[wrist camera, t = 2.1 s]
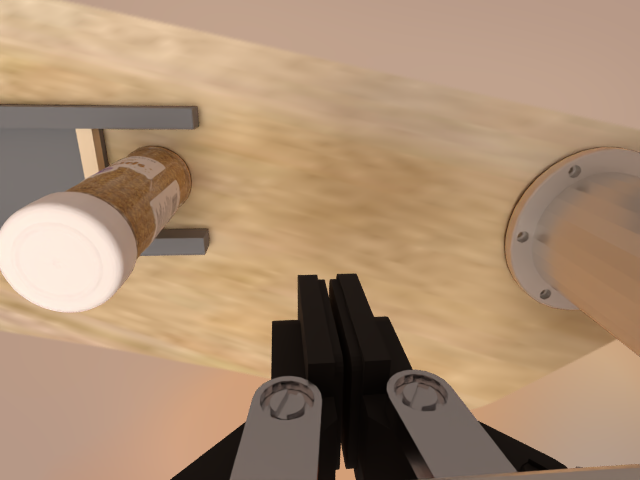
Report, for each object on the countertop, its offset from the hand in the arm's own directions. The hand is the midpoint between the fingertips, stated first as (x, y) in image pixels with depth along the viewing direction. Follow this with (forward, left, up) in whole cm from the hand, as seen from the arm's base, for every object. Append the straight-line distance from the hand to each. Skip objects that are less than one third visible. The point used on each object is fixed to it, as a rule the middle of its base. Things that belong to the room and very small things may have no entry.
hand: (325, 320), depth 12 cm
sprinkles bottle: (+10, 0, -18) cm, 20 cm away
